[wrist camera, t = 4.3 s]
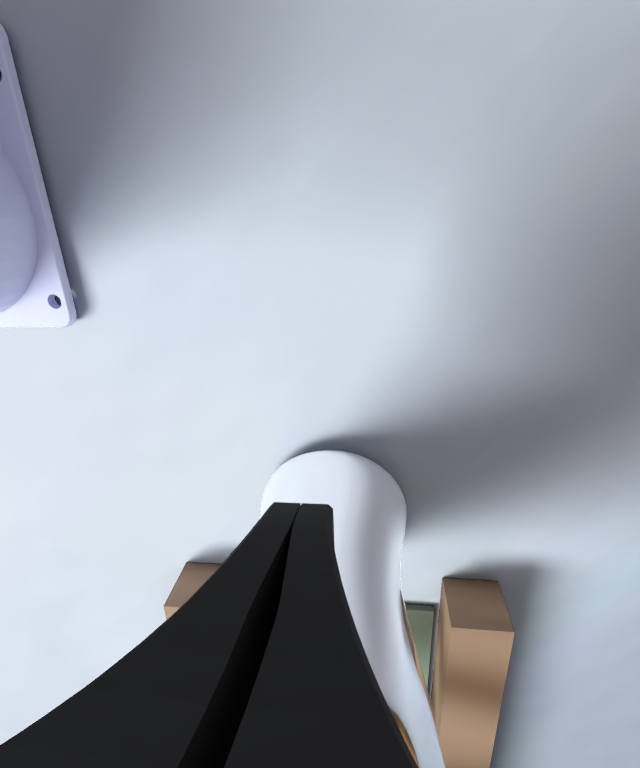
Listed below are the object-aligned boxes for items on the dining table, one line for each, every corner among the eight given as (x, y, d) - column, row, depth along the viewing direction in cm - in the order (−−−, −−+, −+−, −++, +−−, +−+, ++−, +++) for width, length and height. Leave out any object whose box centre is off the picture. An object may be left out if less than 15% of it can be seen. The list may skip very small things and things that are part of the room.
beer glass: (221, 500, 19) (-133, 1272, 6) (333, 406, 16) (160, 1445, 3) (333, 587, 21) (261, 1344, 7) (452, 515, 18) (672, 1496, 5)
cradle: (186, 562, 21) (146, 637, 17) (497, 581, 19) (527, 670, 16) (234, 806, 29) (214, 893, 25) (458, 835, 27) (471, 933, 24)
